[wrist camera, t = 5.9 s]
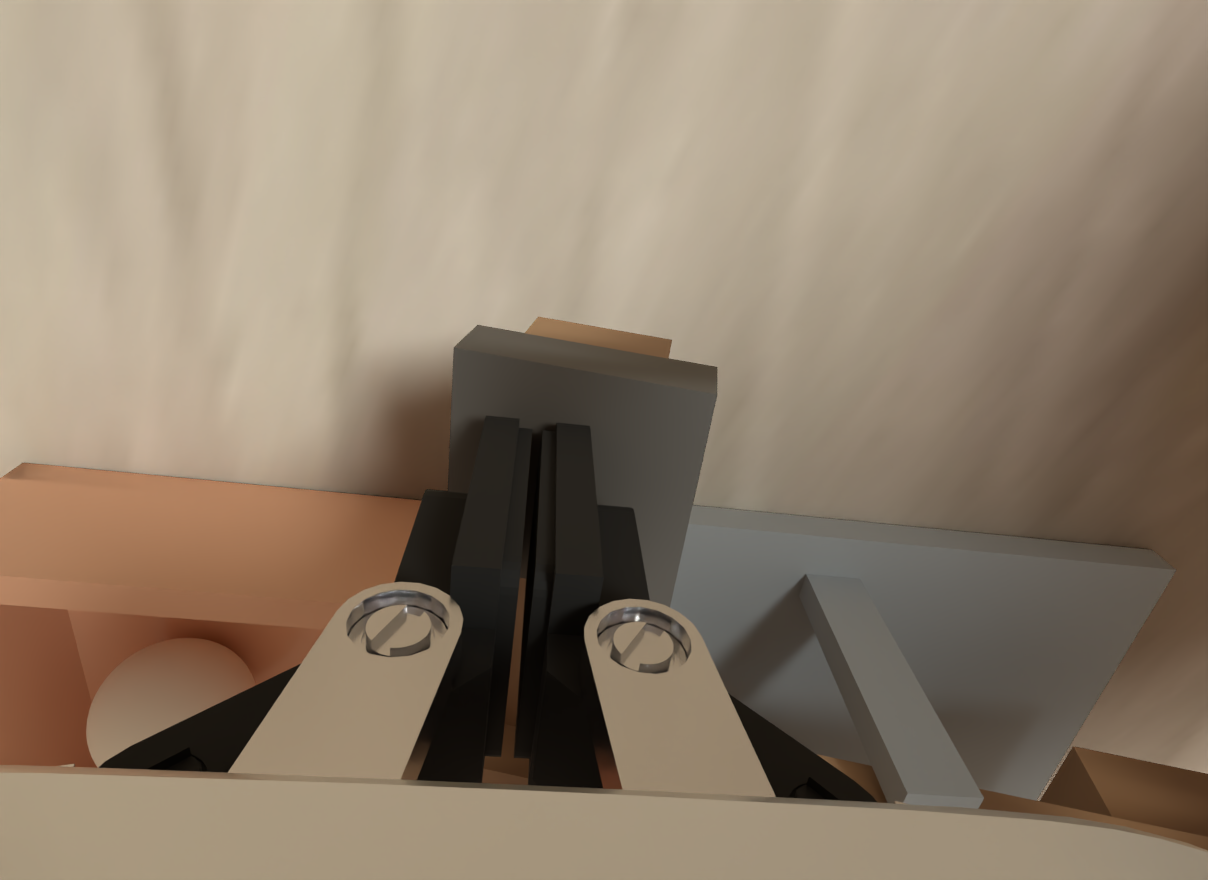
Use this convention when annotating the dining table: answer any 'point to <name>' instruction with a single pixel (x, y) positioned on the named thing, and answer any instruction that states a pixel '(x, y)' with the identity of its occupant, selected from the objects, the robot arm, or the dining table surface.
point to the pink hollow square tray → (165, 582)
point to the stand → (915, 641)
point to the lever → (662, 510)
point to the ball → (161, 692)
